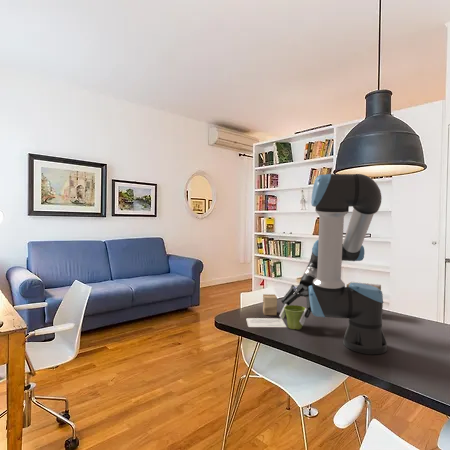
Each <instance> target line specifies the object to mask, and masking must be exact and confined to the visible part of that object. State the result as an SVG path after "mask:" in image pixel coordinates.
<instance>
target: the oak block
mask: <svg viewBox="0 0 450 450" xmlns="http://www.w3.org/2000/svg"><path fill="white" fill-rule="evenodd" d="M277 307H278V297H277V295H276V294H268V293H267V294H266V293H265V294H262V313H263V315H264V316H277V313H278V308H277Z"/></svg>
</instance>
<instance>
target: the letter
mask: <svg viewBox="0 0 450 450" xmlns="http://www.w3.org/2000/svg"><path fill="white" fill-rule="evenodd" d="M246 323H247V327H248V328H287V325H286V323H285V321H284V319H281V318H280V317H279V318H277V317H274V318H273V317H272V318H271V317H270V318H269V317H267V318H266V317H265V318H264V317H263V318H262V317H261V318H259V317H256V318H255V317H248V318H246Z"/></svg>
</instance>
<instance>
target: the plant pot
mask: <svg viewBox="0 0 450 450" xmlns="http://www.w3.org/2000/svg"><path fill="white" fill-rule="evenodd" d="M305 308H306V307H305V306H303V305H297V304H290V305H288V306H285V307H284V309H285V312H286V315H285V317H286V323H287V328H288V329H290V330H302V328H303V325H301V323H300V322H299V321H300V319H301V316H302V314H303V312H304V310H305Z"/></svg>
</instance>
